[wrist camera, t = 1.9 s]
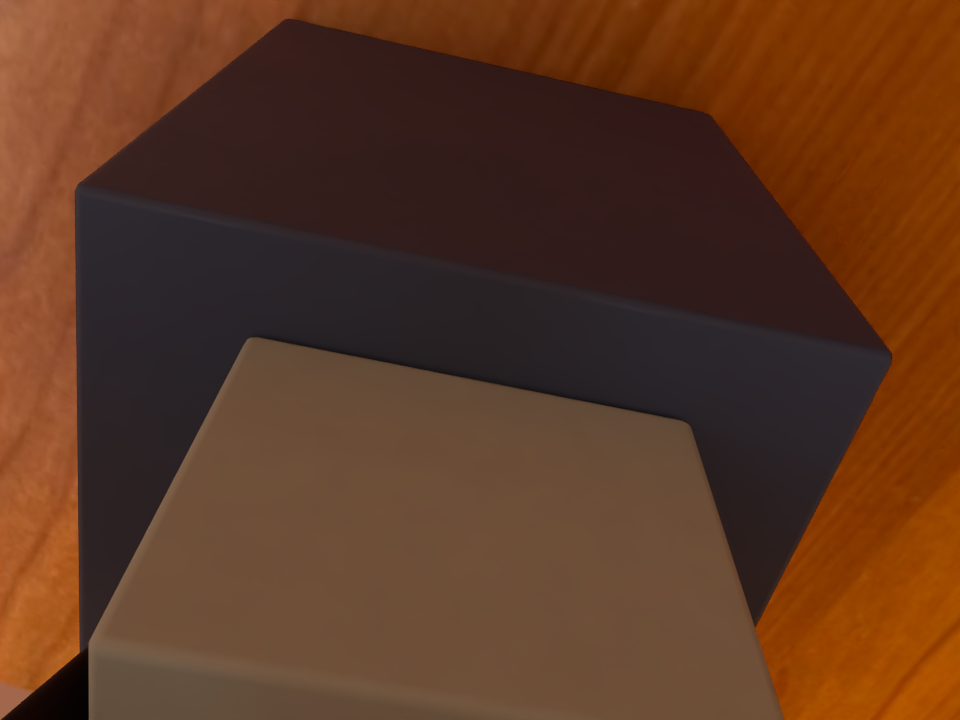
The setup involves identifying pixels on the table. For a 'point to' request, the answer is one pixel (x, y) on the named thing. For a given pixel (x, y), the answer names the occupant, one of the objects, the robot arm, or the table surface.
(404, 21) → the table surface
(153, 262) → the dark gray cube
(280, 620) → the beige block
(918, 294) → the table surface
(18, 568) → the table surface
